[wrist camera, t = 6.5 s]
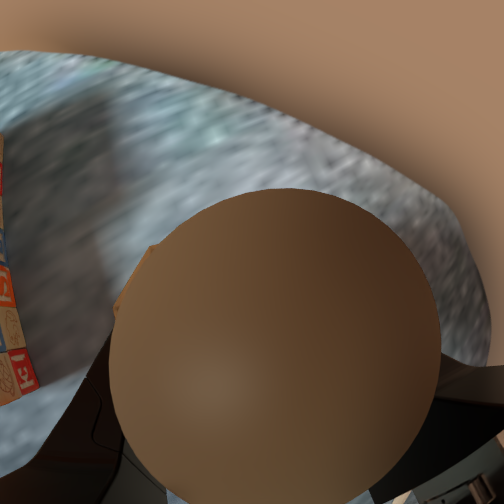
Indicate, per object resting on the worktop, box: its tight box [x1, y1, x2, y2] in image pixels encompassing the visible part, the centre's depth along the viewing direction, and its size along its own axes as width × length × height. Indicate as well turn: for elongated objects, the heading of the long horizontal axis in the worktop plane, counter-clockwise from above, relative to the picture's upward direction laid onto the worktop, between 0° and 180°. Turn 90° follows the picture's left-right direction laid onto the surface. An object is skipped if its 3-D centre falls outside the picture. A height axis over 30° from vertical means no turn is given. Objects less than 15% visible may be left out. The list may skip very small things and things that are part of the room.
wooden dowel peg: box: [109, 188, 441, 504], centre depth 9 cm, size 4×4×12 cm
